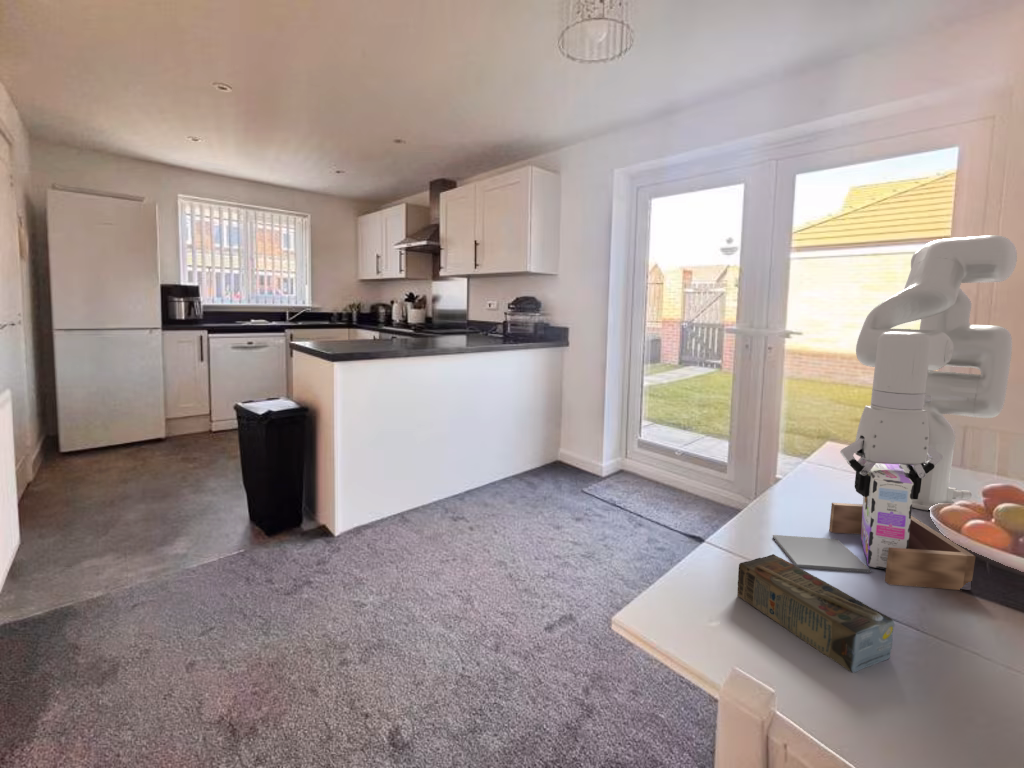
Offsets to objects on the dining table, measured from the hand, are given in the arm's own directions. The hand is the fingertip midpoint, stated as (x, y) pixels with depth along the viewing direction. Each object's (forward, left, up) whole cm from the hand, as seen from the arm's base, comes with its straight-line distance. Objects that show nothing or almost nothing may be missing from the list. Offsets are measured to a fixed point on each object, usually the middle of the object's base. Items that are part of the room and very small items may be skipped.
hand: (886, 494), depth 92 cm
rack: (-2, 0, -12) cm, 12 cm away
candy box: (-1, 0, -12) cm, 12 cm away
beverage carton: (+22, +25, -12) cm, 35 cm away
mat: (+11, +1, -12) cm, 16 cm away
